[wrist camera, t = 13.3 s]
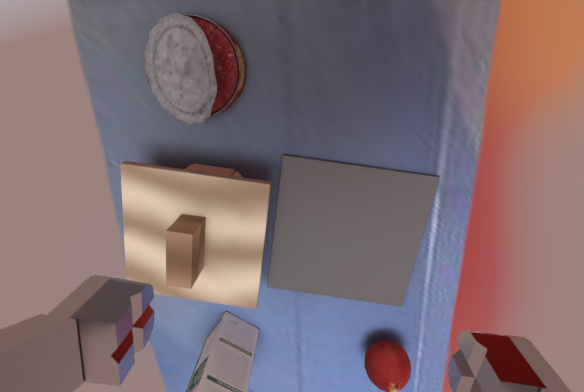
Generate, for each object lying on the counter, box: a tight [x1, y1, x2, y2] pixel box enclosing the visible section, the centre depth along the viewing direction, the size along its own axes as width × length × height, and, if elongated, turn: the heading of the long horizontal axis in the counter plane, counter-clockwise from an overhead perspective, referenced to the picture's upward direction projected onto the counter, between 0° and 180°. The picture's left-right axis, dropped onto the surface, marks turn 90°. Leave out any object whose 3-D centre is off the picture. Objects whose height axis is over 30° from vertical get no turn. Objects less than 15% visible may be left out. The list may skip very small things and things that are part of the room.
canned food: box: [144, 13, 246, 124], centre depth 34 cm, size 11×10×10 cm
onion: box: [365, 340, 411, 392], centre depth 44 cm, size 6×6×8 cm
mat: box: [267, 154, 440, 307], centre depth 42 cm, size 18×18×1 cm
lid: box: [120, 161, 271, 309], centre depth 34 cm, size 15×15×5 cm
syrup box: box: [186, 311, 259, 392], centre depth 42 cm, size 6×6×14 cm
